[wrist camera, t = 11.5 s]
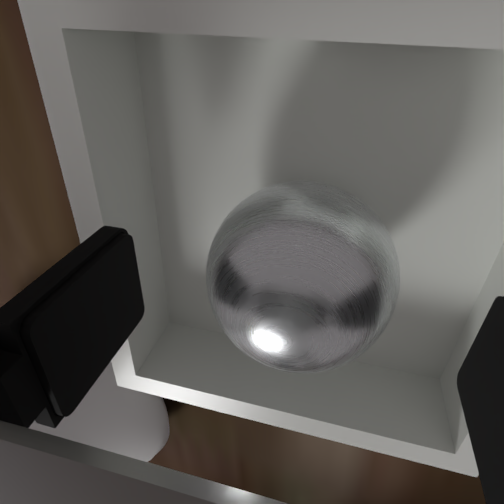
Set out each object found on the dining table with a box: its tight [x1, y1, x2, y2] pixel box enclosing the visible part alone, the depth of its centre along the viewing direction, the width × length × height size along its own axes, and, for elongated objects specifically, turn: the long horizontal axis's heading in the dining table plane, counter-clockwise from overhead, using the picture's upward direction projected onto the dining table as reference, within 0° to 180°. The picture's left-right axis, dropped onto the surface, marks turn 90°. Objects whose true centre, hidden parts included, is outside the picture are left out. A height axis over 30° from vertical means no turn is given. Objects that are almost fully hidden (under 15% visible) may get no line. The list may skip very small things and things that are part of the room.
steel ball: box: [206, 180, 400, 373], centre depth 11 cm, size 6×6×6 cm
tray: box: [17, 0, 504, 477], centre depth 12 cm, size 14×14×4 cm
